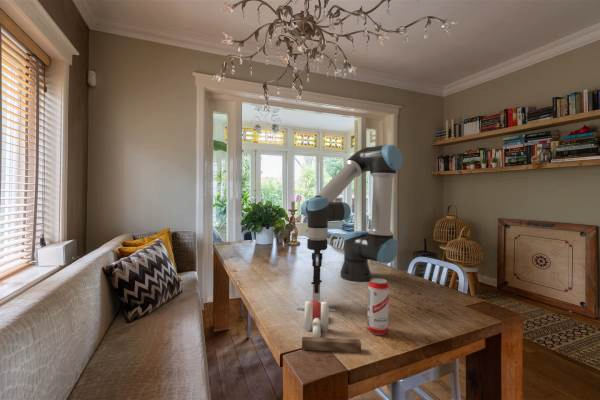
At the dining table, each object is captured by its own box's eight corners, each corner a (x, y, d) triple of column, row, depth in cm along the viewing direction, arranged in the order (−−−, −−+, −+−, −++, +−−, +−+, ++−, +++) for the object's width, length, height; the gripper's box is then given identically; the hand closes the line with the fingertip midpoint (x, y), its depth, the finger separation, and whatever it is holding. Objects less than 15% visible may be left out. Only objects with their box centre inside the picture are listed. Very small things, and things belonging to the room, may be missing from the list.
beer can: (364, 326, 91) (365, 277, 90) (383, 326, 91) (384, 277, 91) (370, 336, 84) (372, 284, 84) (391, 336, 85) (392, 283, 84)
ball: (323, 319, 92) (323, 317, 98) (322, 300, 94) (322, 299, 99) (305, 320, 92) (306, 318, 98) (304, 301, 94) (305, 300, 100)
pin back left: (312, 327, 90) (312, 301, 89) (312, 331, 87) (312, 304, 87) (304, 327, 90) (305, 300, 89) (304, 330, 87) (304, 303, 87)
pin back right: (328, 328, 89) (328, 301, 89) (328, 331, 87) (328, 304, 87) (320, 327, 90) (320, 301, 89) (320, 331, 87) (321, 304, 87)
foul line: (335, 309, 103) (335, 309, 103) (335, 311, 102) (335, 310, 102) (297, 308, 104) (297, 307, 104) (296, 309, 102) (296, 309, 102)
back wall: (359, 348, 78) (359, 339, 78) (360, 352, 76) (361, 343, 76) (302, 345, 79) (302, 336, 79) (301, 349, 77) (302, 340, 77)
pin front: (320, 318, 91) (321, 331, 83) (320, 325, 91) (320, 339, 83) (313, 317, 91) (312, 330, 83) (312, 324, 92) (312, 338, 83)
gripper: (307, 235, 113) (306, 293, 113) (306, 241, 100) (305, 307, 100) (326, 235, 112) (325, 294, 113) (328, 241, 99) (326, 307, 100)
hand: (316, 300), depth 107 cm, fingers closed
